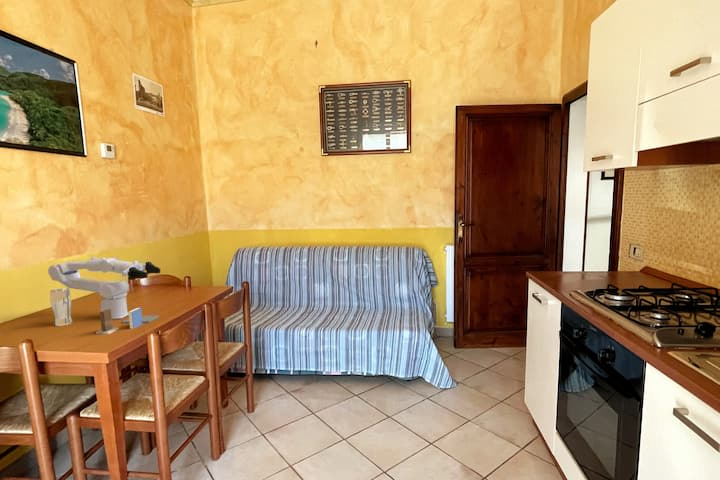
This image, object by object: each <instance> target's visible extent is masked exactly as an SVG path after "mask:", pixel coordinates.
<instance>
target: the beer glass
mask: <svg viewBox="0 0 720 480" xmlns="http://www.w3.org/2000/svg"><path fill="white" fill-rule="evenodd" d="M70 290H71V289H70V288H68V287H61V288H55V289H50V290H49V299H50V300H49V301H50V307H51V308H52V311H53V315H54V326H55V327H62V326H66V325H71V324H72V323H73V319H72V316H71V309H72V296H71V291H70Z"/></svg>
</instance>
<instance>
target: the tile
mask: <svg viewBox="0 0 720 480" xmlns="http://www.w3.org/2000/svg"><path fill="white" fill-rule="evenodd" d="M128 312H129V315H128V318H129V322H130V323H129V328H130V329H131V330H133V329H135V328H137V327H139V326H141V325H143V324H144V323H142V316H143V314H142V307H137V308H134V309H131V310H130V311H128Z"/></svg>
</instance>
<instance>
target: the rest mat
mask: <svg viewBox="0 0 720 480" xmlns="http://www.w3.org/2000/svg"><path fill="white" fill-rule="evenodd" d="M158 318H160V315H142V323H143V324H147V323H149V324H150V323H151V322H153V321H155V320H156V319H158ZM120 323H121V324H130V322H129V317H128V318H126V319H124V320H122V321H121V322H120Z"/></svg>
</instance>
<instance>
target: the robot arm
mask: <svg viewBox="0 0 720 480" xmlns="http://www.w3.org/2000/svg"><path fill="white" fill-rule="evenodd" d="M80 270H87V271H89V272H102V273H103V274H105V273H108V272H111V273H114V274H115V273H117V274H121V277H125V278H128V280H129V281H132V280H137V279H148V275H149V274H160V273H161V268H160V267H158V266H156V265H154V264H153V263H152V262H151V261H146V262H145V263H140V262H139V260H135V261H133V262H131V261H126V260H120V259H118V258H117V257H113V256H111V257H108V258H106V257H105V256H104V257H101V258H97V257H96V256H95V257H91V258H89V259H88V260H87V261H85V260H84V261H83V260H82V261H81V260H80V261H79V260H75V261H74V260H73V261H68V262H64V263H58V264H52V265H50V266H49V268H48V271H47V272H48V275H49V277H50V278H51V280H52V281H55V282H59V283H61V285H63V286H65V288H69V289H74V290H81V291H85V292H86V291H87V292H92V293H98V295H99V296H102V297H104V298H102V300H101V302H100V312H102V311H104V310H107V309H111V316H112V320H114V319H115V320H117V319H123V318H125V317H127V316H129V312H130V311H128V305H127V303H128V302H127V296H128V292H129V291H130V284H129V283H128V282H127V281H126V280H123V279H122V280H118V281H104V280H96V279H89V278H84V277H82V276H81V274H80Z"/></svg>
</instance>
